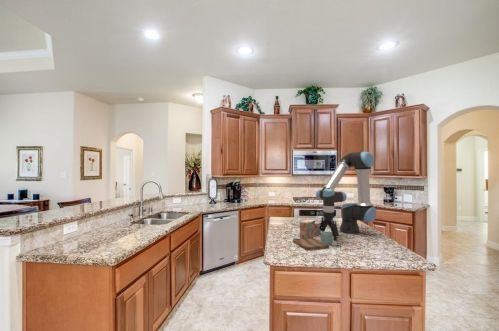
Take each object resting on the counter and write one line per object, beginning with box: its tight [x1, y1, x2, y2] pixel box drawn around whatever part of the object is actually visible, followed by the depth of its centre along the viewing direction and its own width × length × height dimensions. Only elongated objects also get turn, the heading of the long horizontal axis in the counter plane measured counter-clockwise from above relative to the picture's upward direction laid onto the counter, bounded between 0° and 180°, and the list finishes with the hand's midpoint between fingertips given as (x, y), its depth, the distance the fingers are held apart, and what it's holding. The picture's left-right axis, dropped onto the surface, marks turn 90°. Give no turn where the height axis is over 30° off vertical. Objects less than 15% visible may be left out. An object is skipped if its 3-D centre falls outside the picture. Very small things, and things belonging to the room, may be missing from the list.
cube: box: [320, 231, 333, 246], centre depth 177 cm, size 7×7×7 cm
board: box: [292, 237, 330, 251], centre depth 173 cm, size 16×20×2 cm
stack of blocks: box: [299, 218, 321, 239], centre depth 196 cm, size 21×6×12 cm, turn 137°
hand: (328, 242), depth 177 cm, fingers open, 12 cm apart
